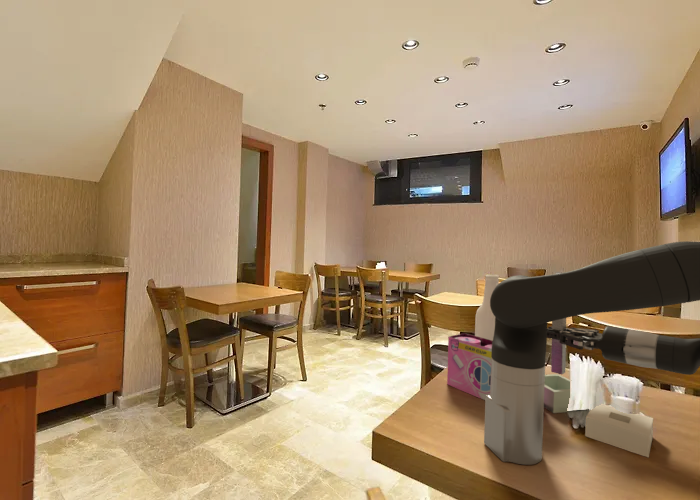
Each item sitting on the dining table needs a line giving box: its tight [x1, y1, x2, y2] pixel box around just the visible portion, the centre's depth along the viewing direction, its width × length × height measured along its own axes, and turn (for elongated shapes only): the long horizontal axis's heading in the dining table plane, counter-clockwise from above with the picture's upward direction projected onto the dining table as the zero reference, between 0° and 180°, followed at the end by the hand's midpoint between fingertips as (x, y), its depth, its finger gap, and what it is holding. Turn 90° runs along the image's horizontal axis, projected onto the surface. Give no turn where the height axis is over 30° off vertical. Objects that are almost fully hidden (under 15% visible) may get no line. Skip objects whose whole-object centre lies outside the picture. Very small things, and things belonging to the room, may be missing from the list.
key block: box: [584, 403, 654, 459], centre depth 73 cm, size 10×10×4 cm
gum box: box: [446, 332, 493, 401], centre depth 90 cm, size 24×8×14 cm, turn 36°
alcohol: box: [474, 274, 500, 341], centre depth 107 cm, size 9×9×30 cm
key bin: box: [544, 373, 571, 414], centre depth 88 cm, size 10×10×5 cm
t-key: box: [550, 318, 567, 375], centre depth 88 cm, size 6×2×18 cm, turn 131°
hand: (546, 331), depth 90 cm, fingers closed on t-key, 2 cm apart
